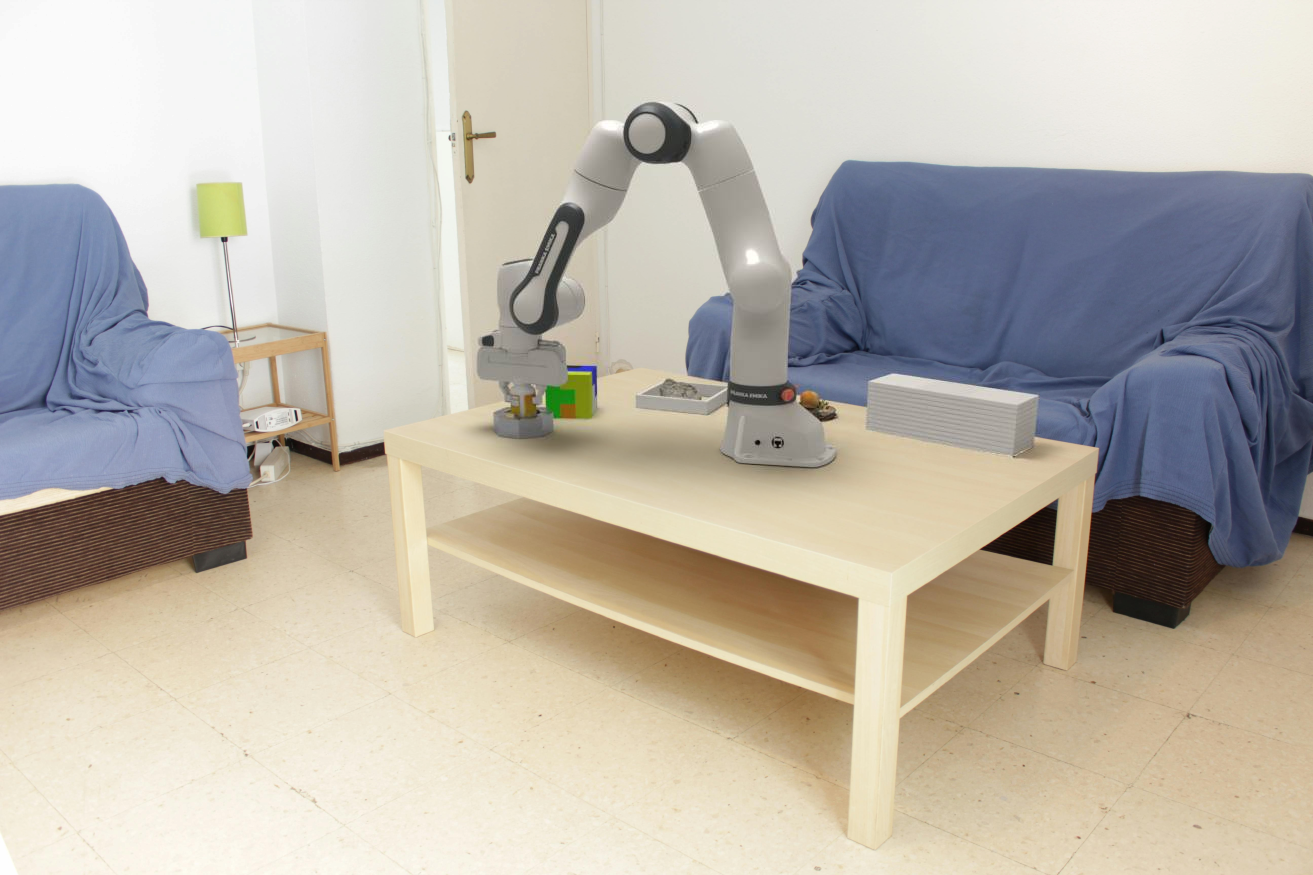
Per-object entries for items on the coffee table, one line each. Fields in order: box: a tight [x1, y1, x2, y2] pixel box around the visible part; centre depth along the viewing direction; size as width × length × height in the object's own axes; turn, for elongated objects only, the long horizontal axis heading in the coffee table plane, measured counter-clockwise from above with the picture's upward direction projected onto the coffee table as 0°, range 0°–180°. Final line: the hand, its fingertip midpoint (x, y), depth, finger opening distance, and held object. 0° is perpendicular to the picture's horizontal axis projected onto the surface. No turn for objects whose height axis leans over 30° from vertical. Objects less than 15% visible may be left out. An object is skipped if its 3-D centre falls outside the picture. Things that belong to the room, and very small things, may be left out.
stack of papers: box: [865, 372, 1040, 456], centre depth 206 cm, size 32×11×11 cm, turn 49°
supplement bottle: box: [509, 378, 537, 417], centre depth 211 cm, size 5×5×10 cm
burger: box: [798, 390, 837, 423], centre depth 225 cm, size 12×12×8 cm
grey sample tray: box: [635, 379, 728, 416], centre depth 237 cm, size 18×18×3 cm
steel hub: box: [492, 405, 555, 440], centre depth 212 cm, size 12×12×5 cm
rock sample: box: [658, 377, 702, 400], centre depth 233 cm, size 11×8×9 cm
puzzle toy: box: [544, 364, 598, 420], centre depth 227 cm, size 10×10×10 cm
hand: (523, 403), depth 211 cm, fingers closed on supplement bottle, 5 cm apart
